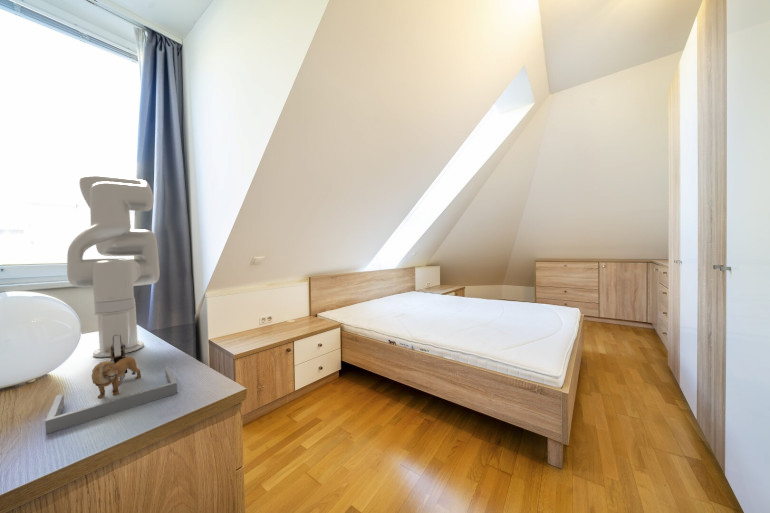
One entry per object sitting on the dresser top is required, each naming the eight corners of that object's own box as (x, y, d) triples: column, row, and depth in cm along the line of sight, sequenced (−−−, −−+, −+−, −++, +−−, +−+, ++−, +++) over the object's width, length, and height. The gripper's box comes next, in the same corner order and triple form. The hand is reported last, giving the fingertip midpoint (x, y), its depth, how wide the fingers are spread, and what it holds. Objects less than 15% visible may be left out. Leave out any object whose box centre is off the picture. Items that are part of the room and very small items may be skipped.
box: (57, 406, 61) (56, 395, 61) (170, 375, 75) (169, 366, 75) (46, 434, 52) (45, 421, 52) (177, 393, 66) (176, 382, 66)
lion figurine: (116, 401, 63) (113, 362, 62) (85, 406, 61) (82, 367, 60) (145, 374, 76) (143, 342, 76) (121, 377, 74) (119, 345, 74)
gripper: (96, 304, 75) (100, 370, 76) (92, 313, 65) (97, 389, 65) (133, 300, 81) (136, 361, 81) (135, 308, 70) (139, 378, 71)
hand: (119, 374), depth 73 cm, fingers closed
